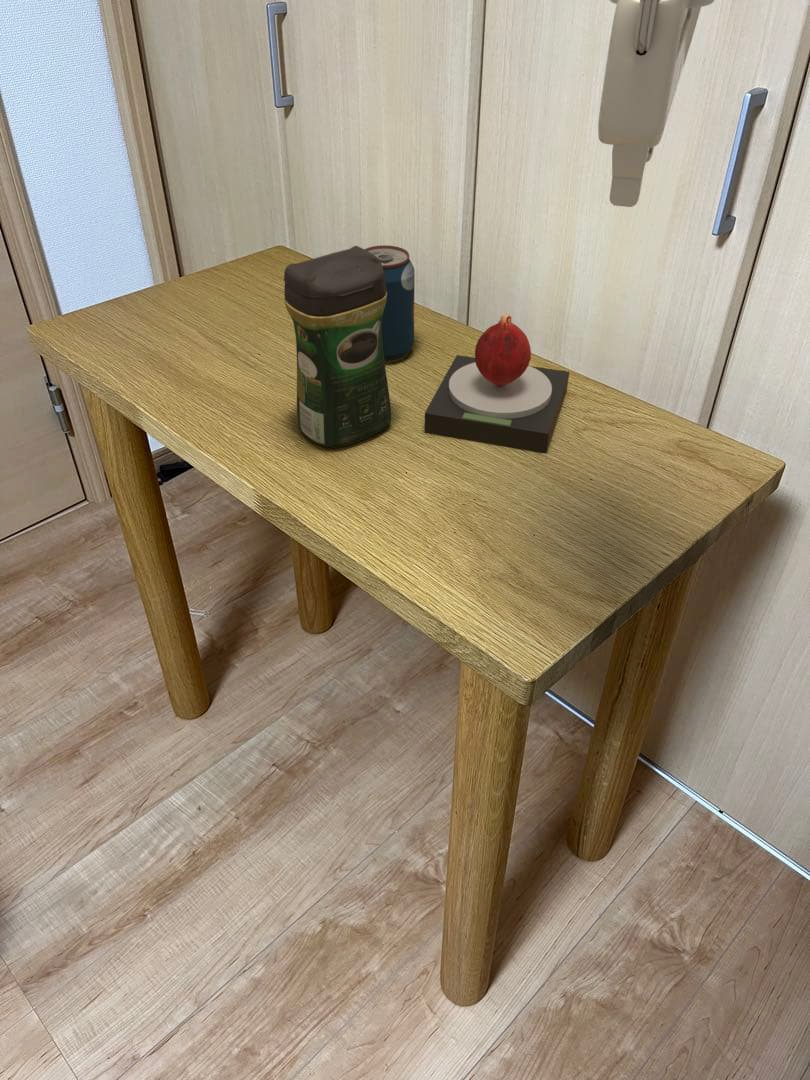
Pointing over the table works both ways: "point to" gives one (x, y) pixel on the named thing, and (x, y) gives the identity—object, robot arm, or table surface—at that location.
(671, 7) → the robot arm
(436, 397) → the scale
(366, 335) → the coffee jar
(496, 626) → the table surface
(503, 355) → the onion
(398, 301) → the soda can
